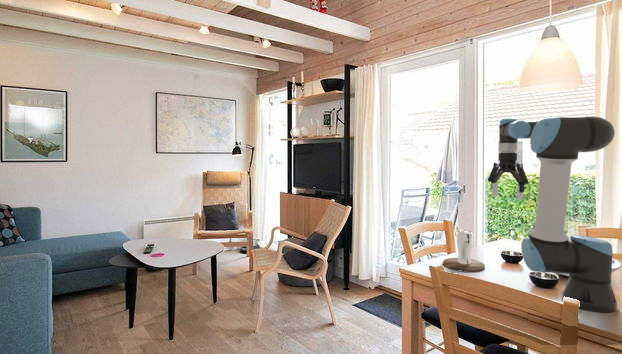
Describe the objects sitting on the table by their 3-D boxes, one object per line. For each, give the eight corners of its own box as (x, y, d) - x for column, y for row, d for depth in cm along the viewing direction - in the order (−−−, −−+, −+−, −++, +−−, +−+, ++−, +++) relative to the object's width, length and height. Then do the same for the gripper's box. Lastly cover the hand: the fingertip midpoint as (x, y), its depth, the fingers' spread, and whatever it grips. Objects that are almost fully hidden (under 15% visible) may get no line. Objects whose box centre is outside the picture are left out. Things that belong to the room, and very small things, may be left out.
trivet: (492, 271, 162) (492, 269, 162) (452, 272, 162) (452, 269, 162) (474, 260, 180) (474, 257, 180) (437, 260, 180) (437, 257, 180)
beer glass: (474, 265, 167) (474, 233, 166) (458, 265, 168) (458, 233, 167) (470, 261, 173) (471, 230, 173) (455, 260, 175) (455, 229, 174)
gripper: (538, 152, 158) (537, 200, 160) (492, 152, 182) (491, 194, 183) (526, 152, 156) (524, 201, 157) (480, 152, 179) (479, 195, 181)
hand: (506, 198), depth 170 cm, fingers open, 13 cm apart
